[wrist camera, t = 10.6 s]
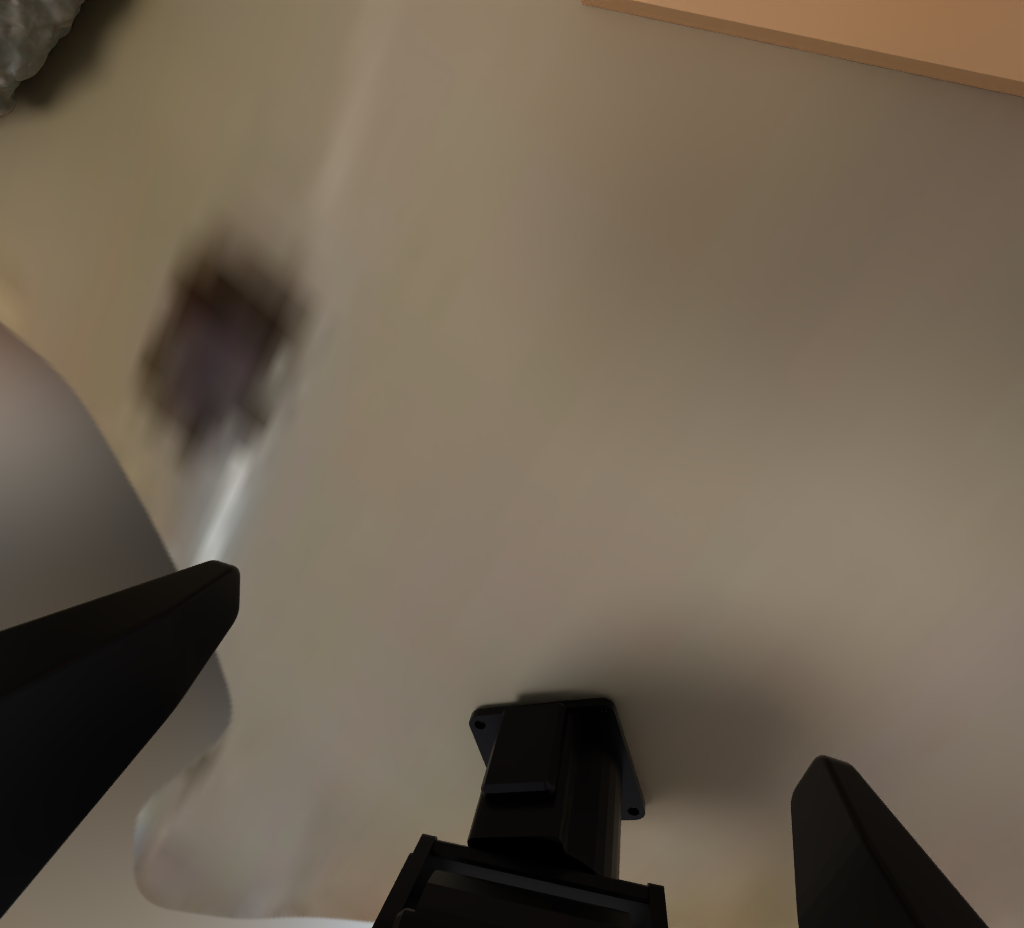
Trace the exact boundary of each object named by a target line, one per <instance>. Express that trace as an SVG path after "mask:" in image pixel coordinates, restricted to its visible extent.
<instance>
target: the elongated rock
mask: <svg viewBox="0 0 1024 928" xmlns="http://www.w3.org/2000/svg"><path fill="white" fill-rule="evenodd" d="M84 1H85V0H0V117H1V116H4V115H6V114H8V113H10V112H12V111H13V109H14V107H15V106H16V98H15V91H14V90H15V89H16V88H17V87H18V86H19V84H20V82H21V81H23V80H25V79H29V78H31V77H33V76H34V75H35V74H37V73H38V71H39V70H40V68H41V67H42V66H43V65H44V63H45V61H46V59H47V56H48V53H49V52H50V51H51V49H52V48H53V47H55V46H56V44H57V42H58V40H59V39H60V38H62V37H64V36H66V35H67V34H68V33H69V32H70V30H71V25H72V23H73V20H74V18H75V17H76V16H77V15H78V14H79V12H80V9H81V4H82V3H83V2H84Z"/></svg>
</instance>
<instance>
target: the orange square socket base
mask: <svg viewBox="0 0 1024 928" xmlns="http://www.w3.org/2000/svg"><path fill="white" fill-rule="evenodd" d="M582 4H585V5H590V6H595V7H599V8H604V9H609V10H614V11H618V12H623V13H628V14H633V15H637V16H642V17H647V18H652V19H656V20H661V21H666V22H670V23H675V24H680V25H685V26H689V27H694V28H699V29H704V30H708V31H713V32H718V33H723V34H727V35H732V36H737V37H741V38H746V39H751V40H756V41H760V42H765V43H770V44H775V45H779V46H784V47H789V48H794V49H798V50H803V51H808V52H813V53H817V54H822V55H827V56H831V57H836V58H841V59H846V60H850V61H855V62H860V63H865V64H869V65H874V66H879V67H884V68H888V69H893V70H898V71H902V72H907V73H912V74H917V75H921V76H926V77H931V78H936V79H940V80H945V81H950V82H955V83H959V84H964V85H969V86H974V87H978V88H983V89H988V90H992V91H997V92H1002V93H1007V94H1011V95H1016V96H1021V97H1024V0H582Z"/></svg>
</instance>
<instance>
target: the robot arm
mask: <svg viewBox="0 0 1024 928" xmlns="http://www.w3.org/2000/svg"><path fill="white" fill-rule="evenodd" d="M239 602H240V572H239V570H238V568H237V567H235V566H233V565H229V564H226V563H223V562H220V561H216V560H211V561H207V562H204V563H201V564H198V565H195V566H192V567H189V568H186V569H183V570H180V571H177V572H174V573H171V574H169V575H165V576H163V577H160V578H157V579H154V580H151V581H148V582H145V583H142V584H139V585H136V586H133V587H130V588H127V589H124V590H121V591H118V592H115V593H112V594H109V595H106V596H103V597H100V598H97V599H94V600H91V601H88V602H85V603H82V604H79V605H76V606H73V607H71V608H68V609H65V610H61V611H59V612H55V613H53V614H50V615H47V616H44V617H41V618H38V619H35V620H32V621H29V622H26V623H23V624H20V625H17V626H14V627H11V628H8V629H5V630H2V631H0V919H1V918H2V917H3V915H4V914H5V913H6V912H7V911H8V910H9V908H10V907H11V906H12V905H13V904H14V902H15V901H16V900H17V899H18V897H19V896H20V895H21V894H22V893H23V891H24V890H25V889H26V888H27V887H28V885H29V884H30V883H31V882H32V880H33V879H34V878H35V877H36V876H37V875H38V873H39V872H40V871H41V870H42V869H43V867H44V866H45V865H46V864H47V863H48V861H49V860H50V859H51V858H52V857H53V855H54V854H55V853H56V852H57V851H58V849H59V848H60V847H61V846H62V845H63V843H64V842H65V841H66V840H67V839H68V837H69V836H70V835H71V834H72V832H73V831H74V830H75V829H76V828H77V826H78V825H79V824H80V823H81V822H82V820H83V819H84V818H85V817H86V816H87V815H88V813H89V812H90V811H91V809H93V807H94V806H95V805H96V804H97V803H98V801H99V800H100V799H101V798H102V797H103V795H104V794H105V793H106V792H107V791H108V789H109V788H110V787H111V786H112V785H113V783H114V782H115V781H116V780H117V779H118V777H119V776H120V775H121V774H122V773H123V771H124V770H125V769H126V768H127V766H128V765H129V764H130V763H131V762H132V760H133V759H134V758H135V757H136V756H137V755H138V753H139V752H140V751H141V750H142V749H143V747H144V746H145V745H146V744H147V743H148V741H149V740H150V739H151V738H152V736H153V735H154V734H155V733H156V732H157V730H158V729H159V728H160V727H161V726H162V724H163V723H164V722H165V721H166V720H167V718H168V717H169V716H170V714H171V713H172V712H173V711H174V710H175V708H176V707H177V706H178V704H179V703H180V702H181V700H182V699H183V697H184V696H185V694H186V693H187V692H188V690H189V689H190V687H191V686H192V684H193V683H194V681H195V680H196V678H197V677H198V675H199V674H200V672H201V671H202V669H203V668H204V666H205V665H206V663H207V662H208V660H209V659H210V658H211V656H212V654H213V653H214V652H215V650H216V649H217V647H218V646H219V644H220V643H221V641H222V640H223V638H224V637H225V635H226V634H227V632H228V631H229V629H230V628H231V626H232V625H233V623H234V622H235V620H236V618H237V615H238V612H239ZM601 709H602V710H606V711H607V712H601V711H600V710H601ZM478 720H479V721H478ZM480 721H482V722H480ZM483 722H484V723H483ZM469 725H470V728H471V731H472V733H473V735H474V738H475V740H476V743H477V745H478V748H479V750H480V753H481V755H482V758H483V760H484V763H485V765H486V768H487V769H486V772H485V776H484V779H483V783H482V786H481V794H480V798H479V802H478V805H477V809H476V812H475V816H474V819H473V823H472V826H471V830H470V834H469V837H468V841H467V843H468V846H464V845H459V844H454V843H450V842H445V841H441V840H437V837H436V836H431V835H426V834H422V836H421V838H420V840H419V842H418V844H417V846H416V848H415V850H414V852H413V853H410V854H409V856H408V858H407V860H406V862H405V864H404V866H403V868H402V870H401V872H400V874H399V876H398V878H397V880H396V882H395V884H394V885H393V887H392V889H391V891H390V893H389V895H388V897H387V899H386V901H385V903H384V905H383V907H382V909H381V911H380V913H379V915H378V917H377V919H376V921H375V923H374V925H373V927H372V928H668V921H667V911H666V902H665V892H664V886H661V885H656V884H652V883H648V884H647V885H642V884H638V883H633V882H628V881H624V880H619V863H620V836H621V820H638V819H641V818H643V817H644V815H645V802H644V799H643V795H642V792H641V789H640V786H639V782H638V779H637V776H636V772H635V769H634V766H633V763H632V759H631V756H630V753H629V749H628V746H627V743H626V740H625V736H624V733H623V730H622V727H621V723H620V720H619V717H618V713H617V710H616V707H615V705H614V703H613V702H612V701H611V700H609V699H606V698H593V699H583V700H572V701H562V702H551V703H541V704H530V705H520V706H509V707H498V708H488V709H478V710H475V711H474V712H473V713H472V715H471V718H470V721H469ZM633 807H634V808H633ZM791 816H792V833H793V850H794V868H795V885H796V902H797V914H798V924H799V928H989V927H988V926H987V925H986V924H985V922H984V921H983V920H982V919H981V918H980V917H979V915H978V914H977V913H976V912H975V911H974V909H973V908H972V907H971V906H970V905H969V903H968V902H967V901H966V900H965V899H964V898H963V896H962V895H961V894H960V893H959V892H958V890H957V889H956V888H955V887H954V886H953V884H952V883H951V882H950V881H949V880H948V879H947V877H946V876H945V875H944V874H943V873H942V871H941V870H940V869H939V868H938V867H937V865H936V864H935V863H934V862H933V861H932V860H931V858H930V857H929V856H928V855H927V854H926V852H925V851H924V850H923V849H922V848H921V846H920V845H919V844H918V843H917V842H916V841H915V839H914V838H913V837H912V836H911V835H910V833H909V832H908V831H907V830H906V829H905V827H904V826H903V825H902V824H901V823H900V822H899V820H898V819H897V818H896V817H895V816H894V814H893V813H892V812H891V811H890V810H889V808H888V807H887V806H886V805H885V804H884V803H883V801H882V800H881V799H880V798H879V797H878V795H877V794H876V793H875V792H874V791H873V789H872V788H871V787H870V786H869V785H868V784H867V782H866V781H865V780H864V779H863V778H862V776H861V775H860V774H859V773H858V772H857V770H856V769H855V768H854V767H853V766H852V765H850V764H849V763H847V762H844V761H841V760H838V759H835V758H832V757H829V756H825V755H820V756H818V757H816V758H815V759H814V761H813V762H812V764H811V765H810V767H809V768H808V770H807V771H806V773H805V774H804V776H803V777H802V779H801V780H800V782H799V783H798V785H797V786H796V788H795V790H794V792H793V795H792V800H791Z"/></svg>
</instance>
